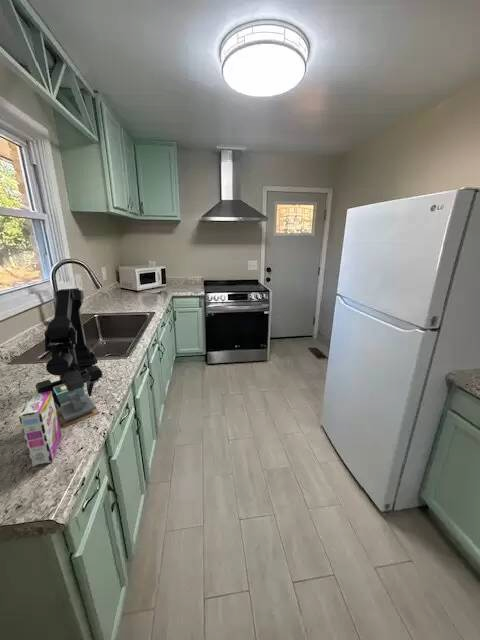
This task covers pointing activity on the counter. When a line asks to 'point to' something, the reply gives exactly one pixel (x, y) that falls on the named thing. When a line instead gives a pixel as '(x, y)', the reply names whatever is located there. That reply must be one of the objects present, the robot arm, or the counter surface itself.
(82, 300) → the robot arm
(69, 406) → the lid
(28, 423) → the candy bar box
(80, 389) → the storage box
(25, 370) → the counter surface
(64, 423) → the walnut board
